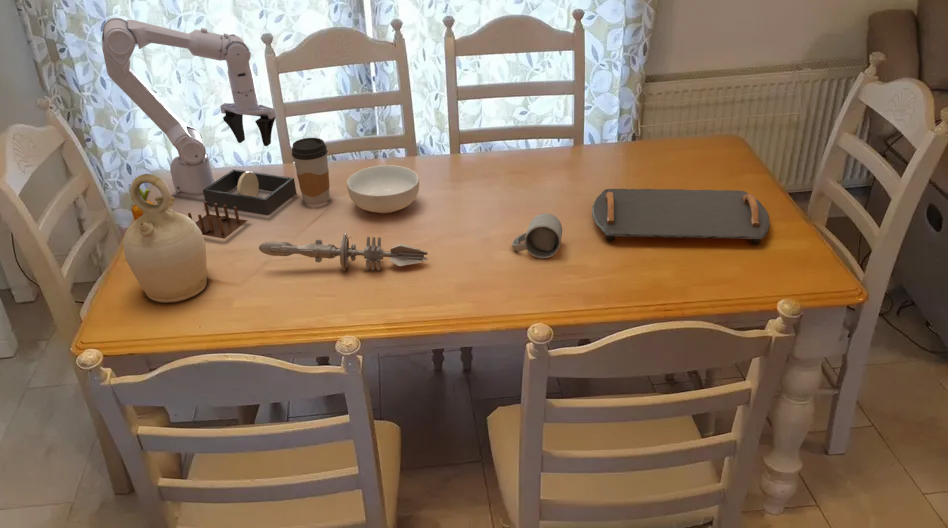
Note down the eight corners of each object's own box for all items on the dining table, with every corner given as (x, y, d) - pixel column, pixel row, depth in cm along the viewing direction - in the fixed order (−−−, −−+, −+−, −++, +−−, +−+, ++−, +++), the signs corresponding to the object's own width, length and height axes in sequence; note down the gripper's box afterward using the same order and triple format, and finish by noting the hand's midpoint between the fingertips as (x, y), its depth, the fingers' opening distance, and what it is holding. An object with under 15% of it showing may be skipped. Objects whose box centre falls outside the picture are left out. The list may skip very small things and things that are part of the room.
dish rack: (184, 235, 193) (179, 215, 190) (208, 218, 200) (203, 198, 197) (225, 243, 190) (220, 222, 187) (248, 225, 197) (244, 204, 194)
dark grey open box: (207, 209, 204) (202, 190, 201) (237, 188, 214) (233, 169, 211) (269, 219, 199) (265, 199, 196) (297, 197, 208) (294, 178, 205)
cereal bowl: (337, 216, 199) (333, 188, 195) (370, 187, 211) (367, 161, 207) (402, 227, 193) (399, 198, 189) (432, 196, 206) (430, 169, 202)
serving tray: (592, 245, 183) (593, 220, 179) (590, 198, 202) (592, 174, 198) (776, 249, 179) (781, 223, 176) (757, 201, 198) (761, 176, 194)
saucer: (242, 209, 203) (233, 182, 198) (258, 192, 208) (250, 165, 203) (245, 209, 203) (236, 183, 198) (262, 192, 208) (253, 165, 203)
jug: (170, 263, 183) (139, 155, 169) (229, 275, 178) (203, 164, 164) (121, 299, 172) (84, 186, 157) (183, 313, 166) (151, 197, 152)
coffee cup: (337, 195, 208) (330, 136, 200) (330, 210, 202) (321, 150, 193) (304, 194, 209) (295, 136, 201) (295, 209, 202) (285, 150, 194)
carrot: (171, 246, 189) (154, 184, 181) (155, 256, 186) (138, 194, 177) (154, 242, 191) (136, 181, 183) (138, 252, 188) (120, 190, 179)
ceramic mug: (562, 241, 185) (563, 209, 181) (560, 259, 179) (560, 227, 174) (514, 239, 187) (513, 208, 182) (510, 258, 180) (509, 225, 176)
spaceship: (262, 226, 178) (254, 230, 171) (428, 235, 181) (428, 239, 173) (262, 264, 180) (254, 269, 172) (426, 272, 182) (426, 277, 175)
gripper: (278, 86, 203) (288, 139, 211) (227, 81, 208) (239, 134, 216) (262, 96, 198) (272, 150, 206) (210, 91, 202) (222, 144, 210)
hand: (254, 143), depth 210 cm, fingers open, 7 cm apart
